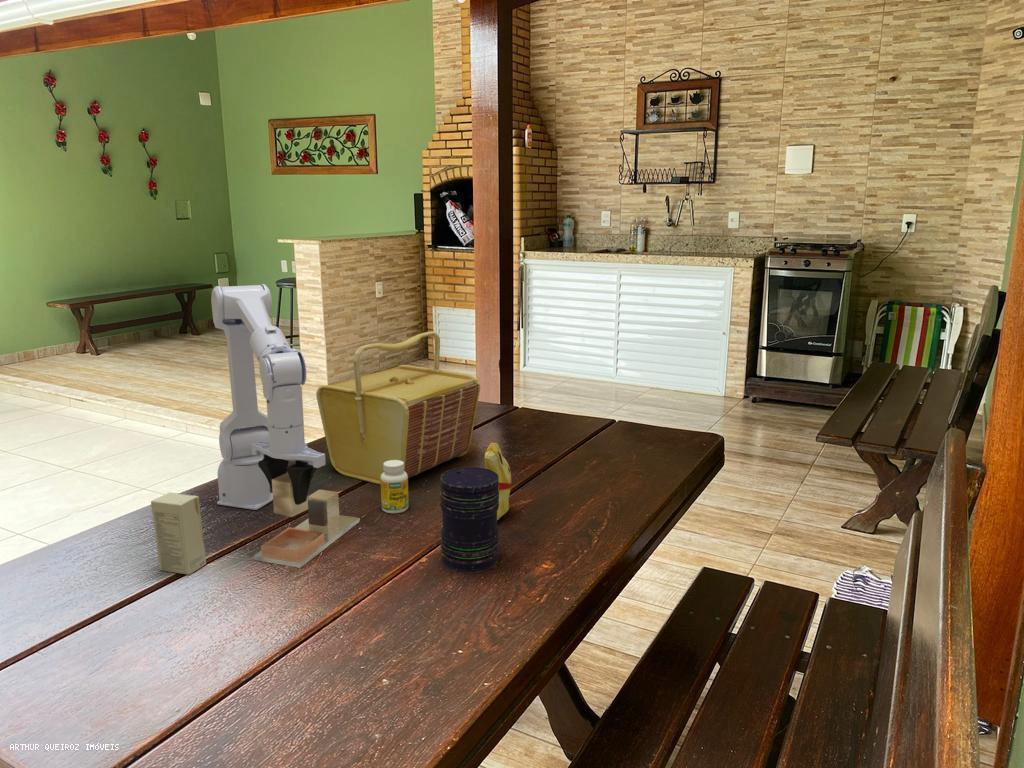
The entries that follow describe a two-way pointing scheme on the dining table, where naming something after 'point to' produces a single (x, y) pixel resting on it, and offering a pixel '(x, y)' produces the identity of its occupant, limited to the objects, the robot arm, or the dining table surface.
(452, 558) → the storage jar
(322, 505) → the cream holder stand
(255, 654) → the dining table surface
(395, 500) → the supplement bottle
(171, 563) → the skincare box
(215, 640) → the dining table surface
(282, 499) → the block
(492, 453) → the chocolate bunny
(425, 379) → the picnic basket
